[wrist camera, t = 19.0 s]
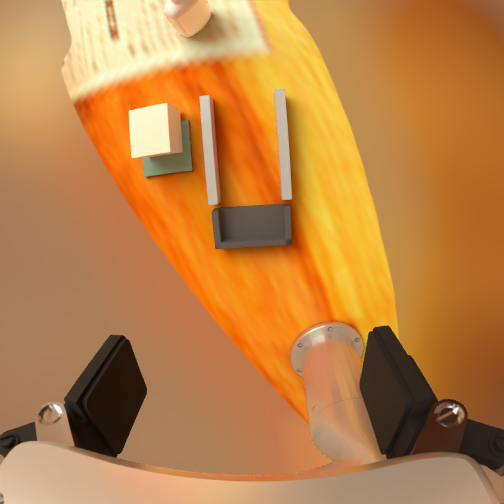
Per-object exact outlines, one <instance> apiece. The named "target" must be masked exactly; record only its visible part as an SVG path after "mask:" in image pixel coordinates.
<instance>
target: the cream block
mask: <svg viewBox="0 0 504 504" xmlns="http://www.w3.org/2000/svg"><path fill="white" fill-rule="evenodd" d="M129 124H130V140H131V153H132V158H146V157H154V156H161V155H167V154H174V153H182V152H183V146H182V133H181V118H180V109H178V108H176V107H174V106H172V105H170V104H168V103H164V104H158V105H154V106H149V107H144V108H140V109H135V110H131V111H129Z"/></svg>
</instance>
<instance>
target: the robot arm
mask: <svg viewBox="0 0 504 504" xmlns="http://www.w3.org/2000/svg"><path fill="white" fill-rule="evenodd" d="M363 348H364V345H363V341H362V338H361V336H360V334H359V333H358V331H357V330H356V329H354V328H353V327H352V326H350V325H348V324H345V323H342V322H326V323H321V324H318V325H315V326H313V327H311V328H309V329H307V330H306V331H305V332H303V333H302V334H301V335H300V336H299V337H298V338H297V339H296V341H295V342H294V344H293V346H292V348H291V353H290V359H291V365H292V367H293V369H294V371H295V372H296V373H297V374H298V375H299V376H301V377H302V378H303V383H304V390H305V397H306V404H307V411H308V419H309V426H310V434H311V439H312V441H313V443H314V445H315V447H316V448H317V449H318V450H319V451H320V452H321V453H322V454H324V455H325V456H327V457H328V458H329V459H331V460H333V461H334V462H332V463H329V464H326V465H323V466H321V467H318V468H314V469H311V470H307V471H303V472H298V473H293V474H270V475H236V474H215V473H203V472H193V471H184V470H177V469H169V468H163V467H157V466H151V465H145V464H140V463H136V462H131V461H127V460H122V459H118V458H116V457H117V455H118V454H120V453H121V452H122V450H123V448H124V445H125V443H126V440H127V438H128V436H129V433H130V431H131V429H132V426H133V424H134V421H135V419H136V417H137V414H138V412H139V410H140V408H141V405H142V403H143V401H144V399H145V396H146V394H147V387H146V384H145V382H144V379H143V377H142V374H141V372H140V369H139V366H138V363H137V361H136V358H135V355H134V352H133V349H132V346H131V344H130V341H129V340H128V339H126V337H125V336H123V335H110V336H109V337H108V339H107V340H106V341H105V343H104V344H103V345H102V347H101V348H100V349H99V351H98V352H97V353H96V355H95V356H94V358H93V359H92V360H91V362H90V363H89V364H88V366H87V367H86V368H85V370H84V371H83V373H82V374H81V375H80V377H79V378H78V380H77V381H76V382H75V384H74V385H73V387H72V388H71V390H70V391H69V392H68V394H67V396H66V397H65V398H64V400H65V402H66V403H65V404H64V406H63V405H62V404H61V403H59V402H48V403H46V404H44V405H42V406H41V407H40V408H39V409H38V410H37V412H36V414H35V422H32V423H29V424H27V425H24V426H21V427H18V428H15V429H12V430H9V431H6V432H4V433H3V434H2V435H1V436H0V504H504V430H503V429H500V428H496V427H493V426H489V425H486V424H483V423H479V422H476V421H473V420H470V419H468V412H467V409H466V408H465V407H464V405H463V404H462V403H460V402H459V401H456V400H454V399H442V400H440V401H438V400H437V398H436V396H435V394H434V393H433V391H432V389H431V388H430V386H429V384H428V382H427V381H426V379H425V377H424V376H423V374H422V373H421V371H420V369H419V368H418V366H417V365H416V363H415V361H414V359H413V358H412V357H411V356H410V355H407V353H406V352H405V350H404V349H403V347H402V345H401V344H400V342H399V340H398V339H397V337H396V336H395V334H394V333H393V331H392V330H391V328H390V327H389V326H380V327H375V328H374V329H373V331H371V332H369V334H368V340H367V346H366V352H365V357H364V362H363V364H362V362H361V360H360V359H361V357H362V354H363Z"/></svg>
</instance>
